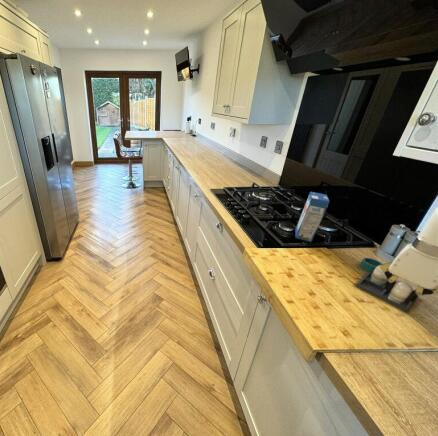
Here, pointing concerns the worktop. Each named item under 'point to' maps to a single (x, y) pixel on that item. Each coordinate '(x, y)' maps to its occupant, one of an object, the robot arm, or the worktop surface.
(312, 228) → the milk carton
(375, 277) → the egg
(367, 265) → the egg cup
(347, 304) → the worktop surface
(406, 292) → the egg
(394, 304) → the egg tray
